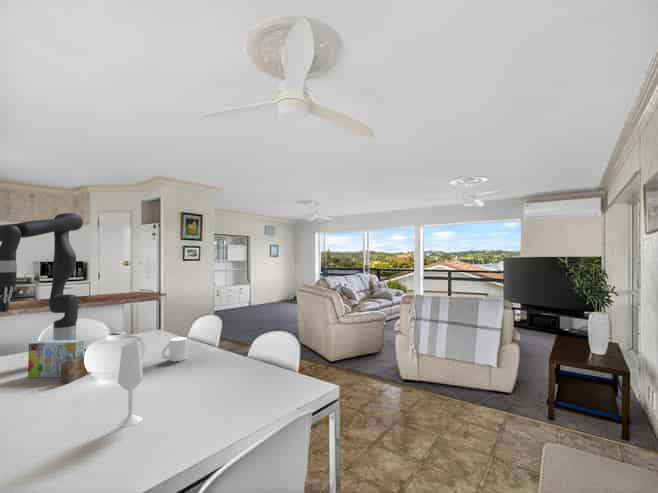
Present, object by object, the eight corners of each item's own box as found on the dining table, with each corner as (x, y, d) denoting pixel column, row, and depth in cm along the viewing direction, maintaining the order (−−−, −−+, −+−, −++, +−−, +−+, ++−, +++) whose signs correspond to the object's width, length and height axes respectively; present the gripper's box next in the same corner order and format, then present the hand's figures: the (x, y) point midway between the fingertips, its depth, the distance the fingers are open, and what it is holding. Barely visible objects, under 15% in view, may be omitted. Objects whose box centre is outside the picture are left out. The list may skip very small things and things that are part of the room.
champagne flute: (137, 414, 111) (137, 340, 112) (146, 420, 107) (146, 343, 108) (114, 422, 106) (114, 344, 107) (122, 428, 102) (123, 347, 103)
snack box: (84, 373, 153) (84, 339, 153) (74, 377, 147) (74, 342, 148) (38, 373, 154) (38, 339, 154) (26, 377, 148) (27, 342, 148)
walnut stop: (87, 371, 155) (87, 347, 155) (94, 371, 155) (94, 347, 155) (60, 383, 140) (61, 356, 140) (68, 383, 140) (68, 356, 140)
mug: (189, 338, 173) (165, 343, 164) (189, 359, 172) (165, 364, 164) (182, 336, 178) (158, 340, 170) (182, 356, 178) (158, 361, 169)
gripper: (-2, 271, 140) (-3, 314, 140) (27, 270, 153) (26, 309, 153) (-20, 272, 140) (-21, 314, 140) (10, 270, 154) (10, 309, 153)
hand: (4, 311), depth 146 cm, fingers closed
